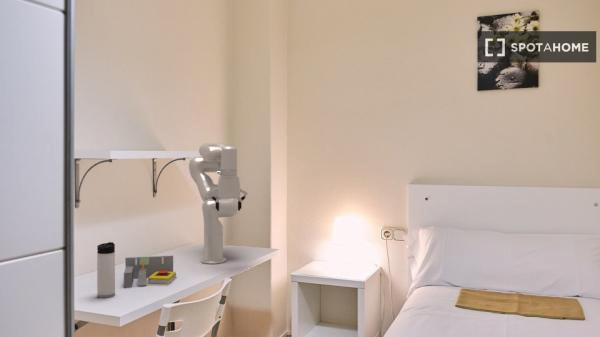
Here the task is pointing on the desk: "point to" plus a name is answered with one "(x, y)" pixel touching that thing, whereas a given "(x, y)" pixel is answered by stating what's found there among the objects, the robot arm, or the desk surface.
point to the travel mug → (106, 270)
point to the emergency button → (161, 278)
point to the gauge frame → (150, 263)
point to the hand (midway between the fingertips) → (228, 210)
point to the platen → (142, 275)
